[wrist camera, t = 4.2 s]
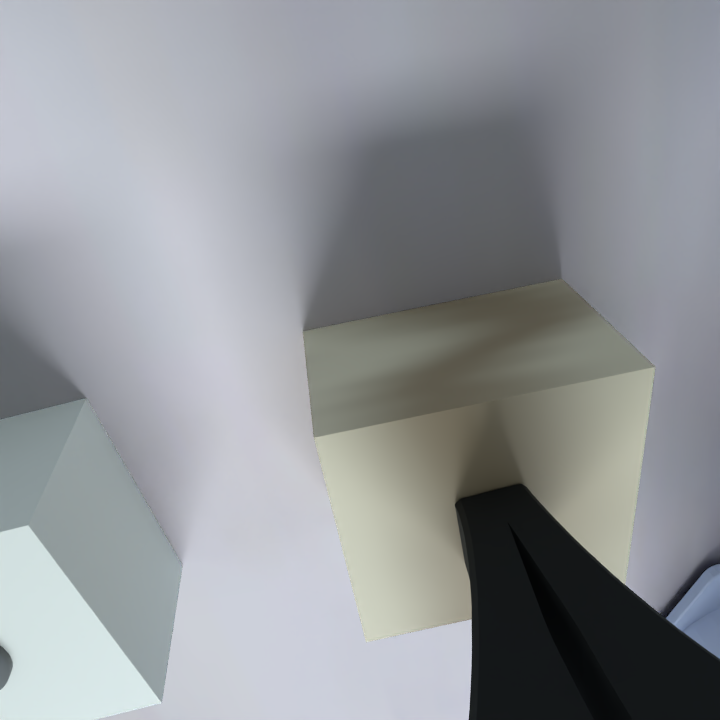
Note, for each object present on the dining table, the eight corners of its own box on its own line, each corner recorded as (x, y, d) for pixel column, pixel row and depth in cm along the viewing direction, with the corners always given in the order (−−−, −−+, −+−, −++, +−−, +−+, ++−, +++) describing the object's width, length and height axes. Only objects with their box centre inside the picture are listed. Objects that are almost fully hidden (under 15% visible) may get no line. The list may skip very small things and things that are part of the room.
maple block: (558, 275, 14) (655, 366, 10) (553, 467, 17) (624, 585, 13) (302, 326, 13) (313, 438, 10) (346, 510, 17) (366, 642, 13)
